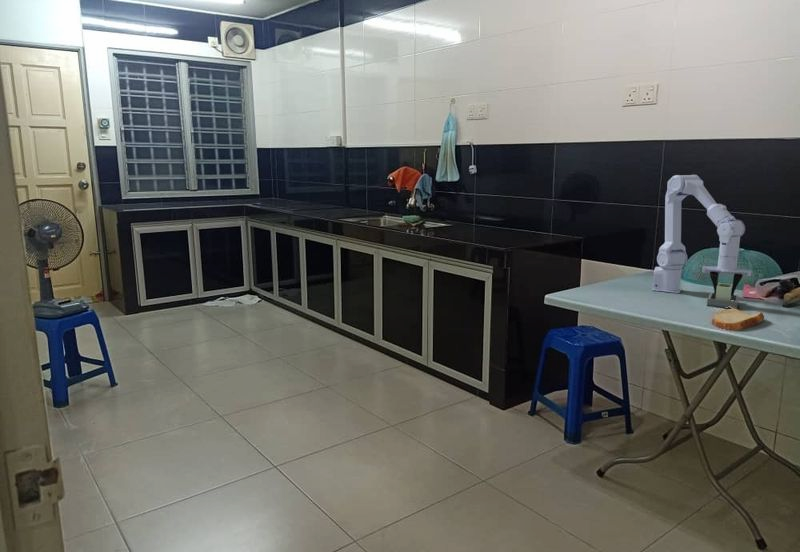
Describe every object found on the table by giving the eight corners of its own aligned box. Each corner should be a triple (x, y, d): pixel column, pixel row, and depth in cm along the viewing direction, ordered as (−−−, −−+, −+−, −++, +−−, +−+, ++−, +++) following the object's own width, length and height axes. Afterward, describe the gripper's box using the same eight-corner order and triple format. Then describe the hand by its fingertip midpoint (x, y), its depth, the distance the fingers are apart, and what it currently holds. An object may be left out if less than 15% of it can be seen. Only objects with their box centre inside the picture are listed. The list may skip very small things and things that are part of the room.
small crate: (715, 300, 192) (716, 286, 191) (716, 296, 198) (718, 282, 197) (729, 302, 190) (731, 288, 189) (731, 298, 195) (732, 284, 194)
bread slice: (722, 331, 164) (723, 319, 163) (695, 315, 182) (697, 304, 181) (786, 333, 163) (788, 320, 162) (753, 316, 180) (755, 305, 179)
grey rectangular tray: (706, 305, 192) (707, 298, 192) (710, 299, 201) (710, 292, 201) (736, 309, 187) (737, 302, 187) (738, 302, 197) (739, 295, 196)
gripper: (703, 255, 192) (699, 294, 194) (752, 259, 184) (747, 299, 186) (705, 252, 197) (701, 290, 200) (753, 256, 189) (748, 295, 192)
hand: (723, 294), depth 194 cm, fingers closed on small crate, 4 cm apart
